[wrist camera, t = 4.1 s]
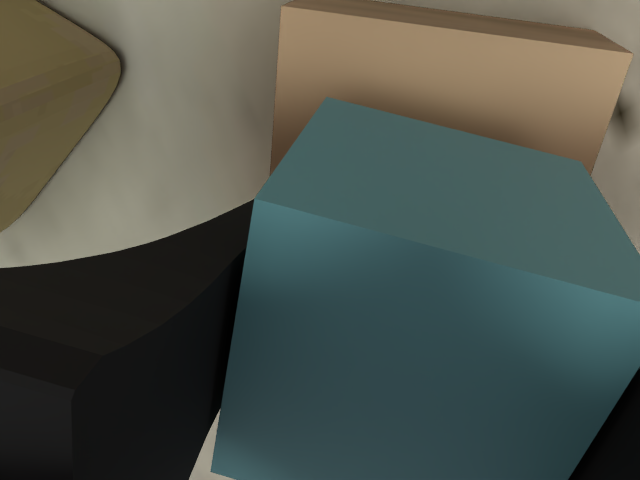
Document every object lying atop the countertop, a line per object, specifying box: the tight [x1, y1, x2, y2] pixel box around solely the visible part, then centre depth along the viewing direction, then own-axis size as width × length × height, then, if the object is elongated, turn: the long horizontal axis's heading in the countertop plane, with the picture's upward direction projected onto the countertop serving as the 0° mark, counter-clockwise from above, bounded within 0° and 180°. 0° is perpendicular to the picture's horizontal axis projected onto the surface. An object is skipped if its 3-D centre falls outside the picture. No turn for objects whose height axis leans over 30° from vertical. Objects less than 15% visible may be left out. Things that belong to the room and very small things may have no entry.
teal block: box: [211, 97, 640, 480], centre depth 10 cm, size 5×5×5 cm
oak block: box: [270, 0, 633, 176], centre depth 17 cm, size 8×8×4 cm
